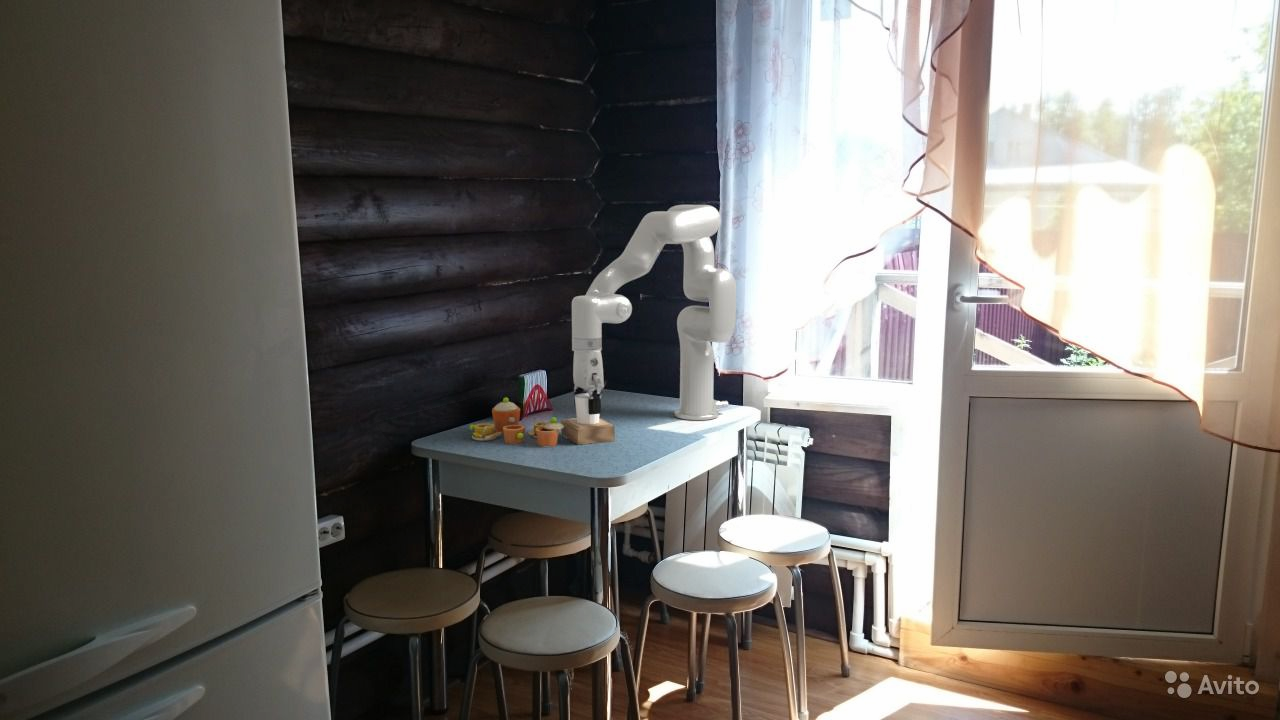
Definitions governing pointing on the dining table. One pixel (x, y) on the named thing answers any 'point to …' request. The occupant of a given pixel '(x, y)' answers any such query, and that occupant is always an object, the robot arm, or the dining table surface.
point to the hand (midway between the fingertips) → (587, 410)
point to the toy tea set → (515, 427)
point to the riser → (588, 431)
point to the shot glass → (584, 410)
